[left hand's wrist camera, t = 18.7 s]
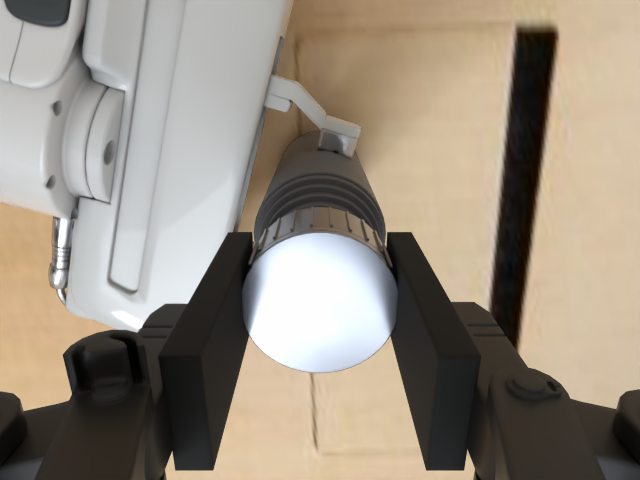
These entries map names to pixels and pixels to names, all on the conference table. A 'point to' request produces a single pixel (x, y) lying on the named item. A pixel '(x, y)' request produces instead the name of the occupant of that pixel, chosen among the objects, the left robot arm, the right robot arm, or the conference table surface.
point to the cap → (319, 291)
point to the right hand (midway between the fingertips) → (336, 202)
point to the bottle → (318, 186)
